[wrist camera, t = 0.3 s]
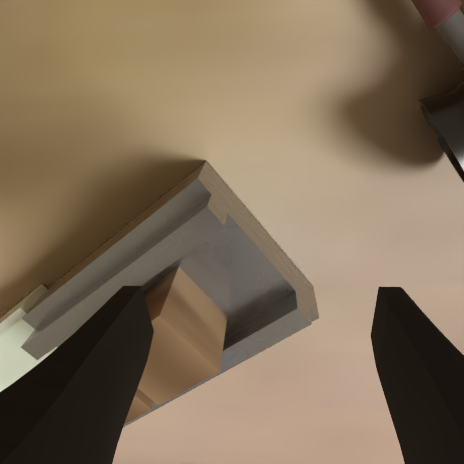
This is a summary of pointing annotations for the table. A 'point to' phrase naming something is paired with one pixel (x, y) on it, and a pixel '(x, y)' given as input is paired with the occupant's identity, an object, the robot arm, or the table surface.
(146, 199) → the table surface
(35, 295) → the tray
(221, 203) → the rail
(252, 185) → the table surface
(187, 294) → the block
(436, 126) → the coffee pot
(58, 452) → the robot arm
